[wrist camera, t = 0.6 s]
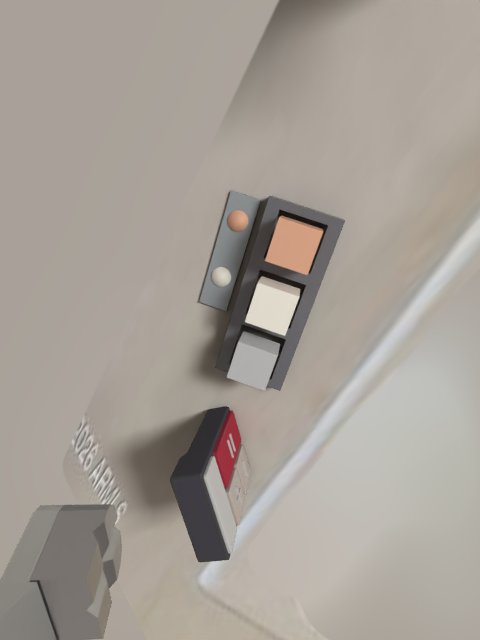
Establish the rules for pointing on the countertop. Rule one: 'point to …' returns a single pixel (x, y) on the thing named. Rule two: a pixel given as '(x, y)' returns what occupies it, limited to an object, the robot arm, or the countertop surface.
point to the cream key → (273, 305)
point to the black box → (213, 485)
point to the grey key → (253, 360)
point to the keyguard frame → (310, 280)
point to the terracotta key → (294, 245)
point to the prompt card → (229, 250)
